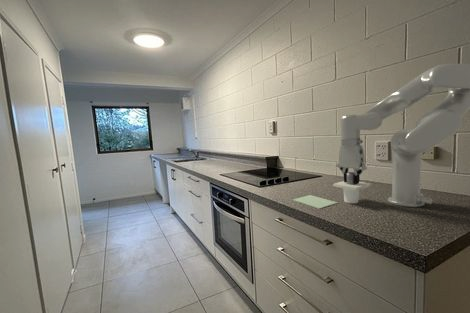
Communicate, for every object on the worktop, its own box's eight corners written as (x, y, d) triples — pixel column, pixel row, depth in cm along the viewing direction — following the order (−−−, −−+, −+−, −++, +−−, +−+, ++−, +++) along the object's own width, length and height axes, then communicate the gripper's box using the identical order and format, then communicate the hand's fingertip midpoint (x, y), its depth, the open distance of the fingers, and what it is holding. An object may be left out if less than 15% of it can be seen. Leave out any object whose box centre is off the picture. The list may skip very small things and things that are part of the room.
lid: (370, 186, 99) (370, 172, 98) (355, 190, 94) (355, 176, 93) (348, 182, 108) (347, 169, 108) (333, 186, 103) (332, 173, 103)
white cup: (345, 198, 107) (344, 184, 106) (361, 200, 102) (361, 185, 102) (341, 202, 101) (341, 187, 101) (358, 204, 97) (357, 189, 96)
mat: (337, 203, 100) (337, 202, 100) (318, 209, 95) (318, 208, 95) (310, 195, 114) (310, 194, 114) (292, 200, 109) (292, 199, 109)
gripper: (374, 141, 93) (375, 184, 95) (339, 142, 108) (340, 178, 110) (363, 143, 90) (364, 187, 92) (329, 143, 105) (330, 181, 106)
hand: (351, 182), depth 101 cm, fingers closed on lid, 4 cm apart
